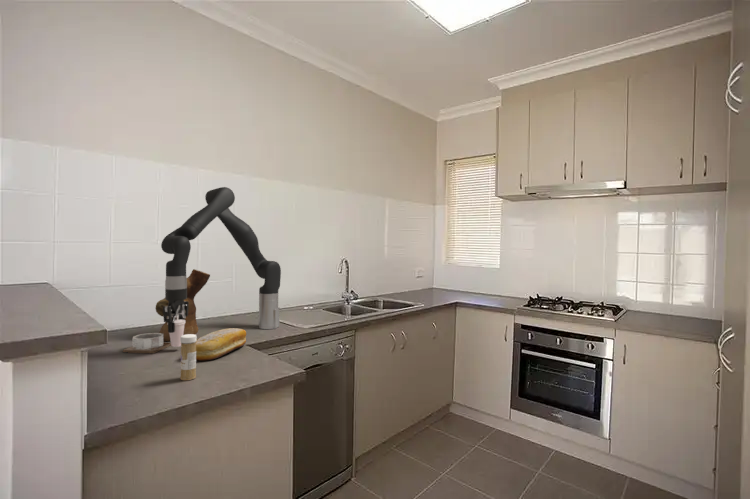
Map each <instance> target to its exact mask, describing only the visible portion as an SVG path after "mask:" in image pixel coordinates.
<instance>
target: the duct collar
mask: <svg viewBox="0 0 750 499" xmlns="http://www.w3.org/2000/svg"><path fill="white" fill-rule="evenodd" d="M131 341H132V343H131V344H132V346H128V347H126V348H124V349H122V353H123V352H128V354H129V353H130V354H156V353H158V352H160V351H163V350H164V349H167V348H169V347H171V342H166V341H163V334H161V333H159V332H152V333H151V332H148V333H146V332H145V333H140V334H137V335H133V336H132V340H131Z"/></svg>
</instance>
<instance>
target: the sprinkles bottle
mask: <svg viewBox="0 0 750 499" xmlns="http://www.w3.org/2000/svg"><path fill="white" fill-rule="evenodd" d="M197 339H198V336H197V334H186V335H182V336H181V338H180V342H181V346H180V376H179V377H180V378H179V379H180V380H181V381H190V380H194V379H196V378H197V374H196V372H197V371H196V370H197V360H196V341H197Z"/></svg>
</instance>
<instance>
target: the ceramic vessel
mask: <svg viewBox="0 0 750 499" xmlns="http://www.w3.org/2000/svg"><path fill="white" fill-rule="evenodd" d="M210 277H211V274H209V273H206V272H204V271H201V270H198V269H195V268H194V269H192V271H191V273H190V274H189V276H188V277H186V278H187V299H185V300H184V301H188V302H189V307H188V316H186V318H185V319H184V320H185V322H186V323H185V327H184V333H183V335H186V334H195V335H197V333H199V327H198V324H197V323H198V322H197V314H196V313H197V307H196V304H195V297H196V296H197V294H198V293H199V292H201V290H202V289H203V288H204V286H206V285H207V283H208V281H209V280H210ZM168 303H169V301H167V300H166V299H165V297H164V298H162V299H160V300H159V301H157V302H156V303H155V312H156V313H157V315H159V316H160V317H163V307H164V306H168ZM185 313H186V310H185ZM180 315H181V314H180ZM167 318H168V316H167ZM172 318H173V317H172ZM178 319H179V318H178ZM175 320H177V317H176V318H175ZM158 333H161V334H163V342H166V341H167V342H166V343H171V342H170V334H169V332H168V325H167V322H163V325H162V326H161V327H160V329H159V332H158Z"/></svg>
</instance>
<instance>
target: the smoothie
mask: <svg viewBox="0 0 750 499" xmlns="http://www.w3.org/2000/svg"><path fill="white" fill-rule="evenodd" d="M174 323H175V332H173V333H169V334H170V341H171V342H170V343H171V346H170V347H171V348H179V347H181V342H180V338H181V336H182V335H183V333H184V325H185V323H186V322H185V320H182V319H178V315H177V320H175V322H174ZM167 325H168V323H167Z"/></svg>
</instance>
